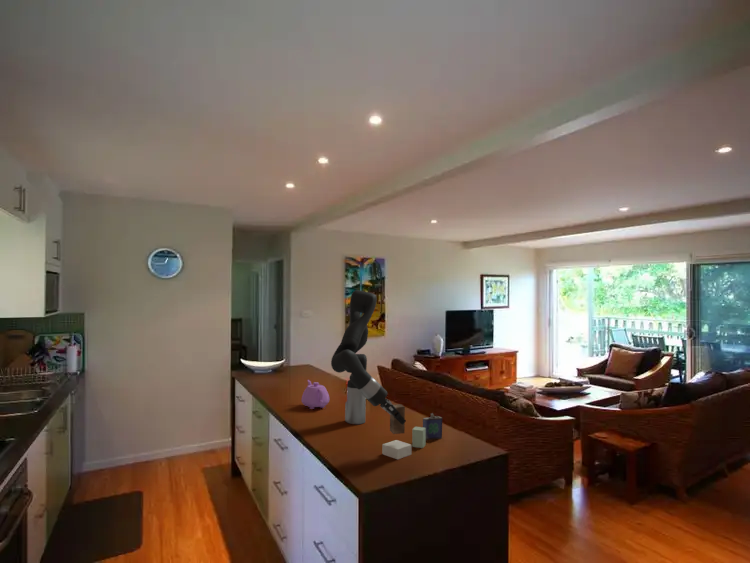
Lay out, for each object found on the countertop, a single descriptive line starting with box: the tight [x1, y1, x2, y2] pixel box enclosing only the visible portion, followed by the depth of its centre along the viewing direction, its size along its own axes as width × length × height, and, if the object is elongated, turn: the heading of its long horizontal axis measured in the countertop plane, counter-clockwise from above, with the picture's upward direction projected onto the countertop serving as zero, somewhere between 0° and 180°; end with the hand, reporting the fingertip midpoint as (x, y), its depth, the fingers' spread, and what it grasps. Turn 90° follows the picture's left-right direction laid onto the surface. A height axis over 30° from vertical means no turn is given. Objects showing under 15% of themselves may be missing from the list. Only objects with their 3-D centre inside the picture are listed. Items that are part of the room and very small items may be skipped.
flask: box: [422, 412, 443, 441], centre depth 184 cm, size 9×3×11 cm, turn 109°
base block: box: [381, 439, 413, 461], centre depth 164 cm, size 8×8×4 cm
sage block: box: [411, 426, 427, 449], centre depth 174 cm, size 4×4×7 cm
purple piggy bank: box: [301, 379, 330, 410], centre depth 237 cm, size 22×16×14 cm
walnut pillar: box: [389, 403, 406, 435], centre depth 164 cm, size 4×4×10 cm
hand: (401, 420), depth 165 cm, fingers closed on walnut pillar, 4 cm apart
